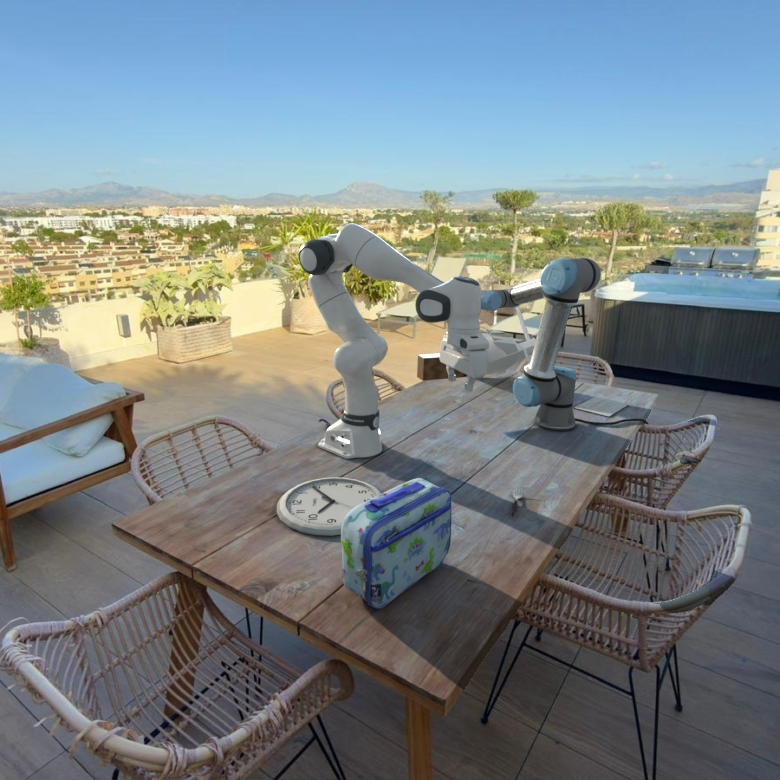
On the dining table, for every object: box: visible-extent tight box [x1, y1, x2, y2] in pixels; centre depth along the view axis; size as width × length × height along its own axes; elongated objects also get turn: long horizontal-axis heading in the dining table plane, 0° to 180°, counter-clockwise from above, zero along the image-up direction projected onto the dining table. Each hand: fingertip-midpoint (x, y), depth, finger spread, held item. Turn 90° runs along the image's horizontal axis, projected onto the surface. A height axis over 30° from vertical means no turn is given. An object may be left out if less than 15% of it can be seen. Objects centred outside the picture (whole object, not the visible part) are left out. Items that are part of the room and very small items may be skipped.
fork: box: [511, 484, 525, 517], centre depth 145 cm, size 3×16×2 cm, turn 160°
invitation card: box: [573, 396, 629, 418], centre depth 226 cm, size 21×1×15 cm
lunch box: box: [340, 477, 452, 610], centre depth 110 cm, size 26×11×21 cm, turn 134°
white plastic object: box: [481, 306, 536, 376], centre depth 260 cm, size 37×45×31 cm
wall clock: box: [276, 476, 383, 537], centre depth 142 cm, size 30×2×30 cm
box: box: [416, 352, 467, 382], centre depth 221 cm, size 24×6×10 cm, turn 111°
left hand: (460, 385), depth 148 cm, fingers open, 8 cm apart
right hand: (463, 373), depth 225 cm, fingers closed on box, 6 cm apart
